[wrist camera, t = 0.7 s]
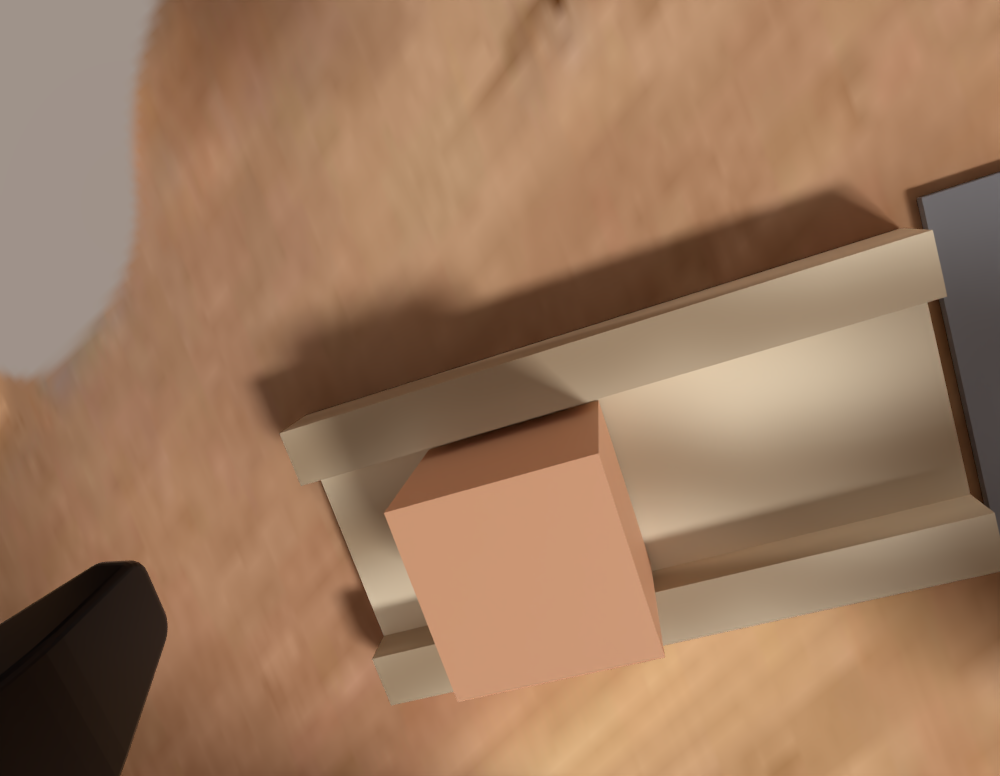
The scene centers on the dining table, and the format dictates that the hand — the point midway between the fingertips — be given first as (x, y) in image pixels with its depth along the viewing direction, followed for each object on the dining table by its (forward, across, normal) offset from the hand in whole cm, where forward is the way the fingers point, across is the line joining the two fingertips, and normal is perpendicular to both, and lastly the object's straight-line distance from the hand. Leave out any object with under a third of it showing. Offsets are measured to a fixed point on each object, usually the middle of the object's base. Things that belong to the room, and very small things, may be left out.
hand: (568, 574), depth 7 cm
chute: (+12, -2, +7) cm, 14 cm away
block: (+11, +1, +8) cm, 13 cm away
